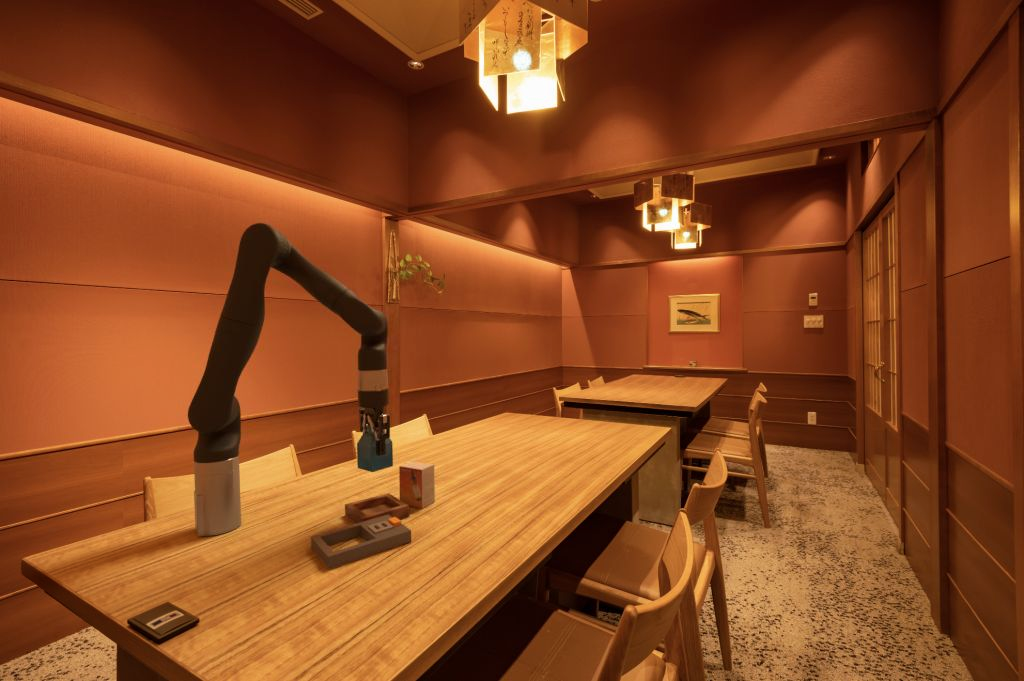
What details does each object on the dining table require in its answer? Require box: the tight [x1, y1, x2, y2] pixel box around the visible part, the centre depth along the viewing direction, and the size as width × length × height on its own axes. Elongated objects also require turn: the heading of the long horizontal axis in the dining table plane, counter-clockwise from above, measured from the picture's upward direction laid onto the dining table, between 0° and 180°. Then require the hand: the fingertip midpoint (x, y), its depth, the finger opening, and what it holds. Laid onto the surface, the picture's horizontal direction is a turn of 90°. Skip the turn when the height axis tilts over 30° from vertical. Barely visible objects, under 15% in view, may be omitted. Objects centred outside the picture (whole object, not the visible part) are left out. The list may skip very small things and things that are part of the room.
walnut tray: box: [344, 493, 410, 524], centre depth 117 cm, size 12×12×3 cm
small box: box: [398, 460, 436, 510], centre depth 126 cm, size 8×6×10 cm
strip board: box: [310, 515, 412, 570], centre depth 102 cm, size 18×12×3 cm, turn 129°
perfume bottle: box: [356, 422, 394, 473], centre depth 117 cm, size 6×6×12 cm
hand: (374, 452), depth 117 cm, fingers closed on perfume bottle, 7 cm apart
